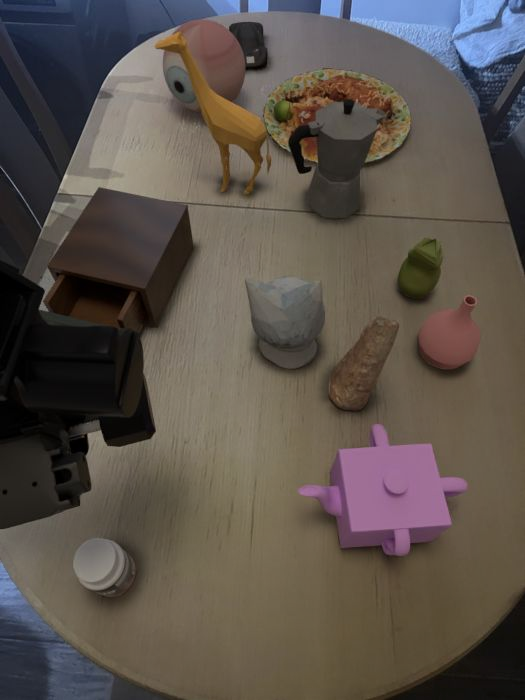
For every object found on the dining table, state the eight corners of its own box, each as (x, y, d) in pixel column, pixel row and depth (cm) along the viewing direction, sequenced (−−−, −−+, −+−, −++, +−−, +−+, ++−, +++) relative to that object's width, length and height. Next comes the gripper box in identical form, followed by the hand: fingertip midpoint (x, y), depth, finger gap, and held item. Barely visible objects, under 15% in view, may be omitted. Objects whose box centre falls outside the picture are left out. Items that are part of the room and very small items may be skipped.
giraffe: (173, 188, 88) (146, 35, 67) (181, 171, 91) (157, 18, 69) (268, 201, 87) (270, 49, 65) (272, 184, 89) (277, 31, 68)
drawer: (115, 397, 66) (102, 371, 60) (27, 374, 68) (5, 346, 62) (170, 283, 76) (163, 251, 70) (92, 265, 78) (78, 232, 72)
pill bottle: (84, 588, 55) (58, 576, 48) (105, 544, 58) (83, 527, 50) (124, 604, 54) (103, 594, 47) (143, 559, 57) (127, 543, 50)
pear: (437, 287, 77) (459, 240, 69) (421, 311, 75) (442, 265, 66) (403, 271, 79) (420, 223, 70) (387, 293, 76) (403, 246, 68)
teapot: (299, 573, 56) (306, 555, 47) (287, 451, 63) (291, 417, 55) (461, 561, 57) (497, 542, 48) (431, 442, 64) (457, 407, 56)
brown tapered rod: (341, 420, 66) (379, 400, 68) (387, 365, 50) (435, 341, 52) (316, 380, 68) (353, 361, 70) (352, 314, 52) (399, 292, 54)
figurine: (328, 328, 73) (343, 256, 60) (307, 380, 69) (318, 314, 56) (264, 307, 75) (265, 233, 62) (239, 356, 71) (235, 287, 58)
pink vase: (401, 339, 72) (425, 285, 62) (448, 323, 74) (479, 268, 63) (430, 385, 68) (460, 335, 58) (479, 367, 70) (517, 316, 60)
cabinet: (156, 327, 73) (145, 288, 66) (67, 306, 75) (46, 266, 67) (194, 247, 81) (187, 205, 74) (113, 230, 83) (98, 186, 75)
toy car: (233, 71, 107) (232, 50, 103) (228, 33, 115) (227, 12, 111) (268, 70, 107) (269, 48, 104) (261, 32, 115) (261, 11, 111)
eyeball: (153, 114, 99) (138, 32, 86) (196, 76, 106) (188, -6, 93) (220, 139, 95) (214, 57, 82) (260, 97, 102) (260, 16, 89)
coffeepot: (356, 174, 90) (376, 73, 75) (381, 210, 86) (407, 110, 70) (274, 195, 88) (277, 94, 72) (295, 233, 83) (303, 134, 68)
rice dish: (368, 195, 89) (375, 169, 84) (234, 135, 96) (234, 109, 91) (429, 112, 102) (438, 85, 97) (307, 64, 108) (310, 37, 103)
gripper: (-168, 542, 30) (-37, 581, 44) (148, 458, 33) (181, 518, 46) (-144, 381, 36) (-35, 459, 49) (124, 320, 39) (159, 409, 52)
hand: (67, 463), depth 49 cm, fingers closed
